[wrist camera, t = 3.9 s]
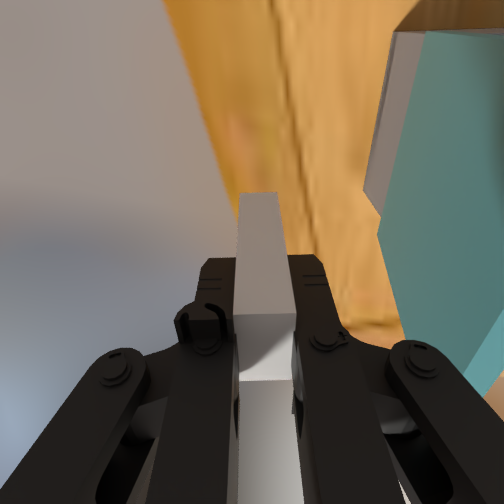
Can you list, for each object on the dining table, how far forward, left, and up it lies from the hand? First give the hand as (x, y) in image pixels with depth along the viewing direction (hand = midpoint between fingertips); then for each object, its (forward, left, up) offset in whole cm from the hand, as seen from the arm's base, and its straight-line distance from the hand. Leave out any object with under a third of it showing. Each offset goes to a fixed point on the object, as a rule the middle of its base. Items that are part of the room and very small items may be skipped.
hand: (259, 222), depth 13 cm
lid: (-9, 0, -1) cm, 9 cm away
